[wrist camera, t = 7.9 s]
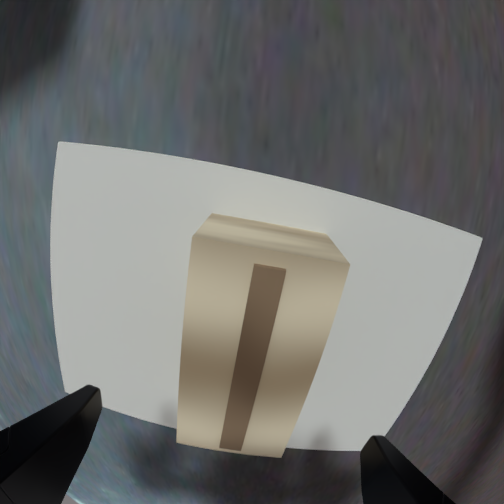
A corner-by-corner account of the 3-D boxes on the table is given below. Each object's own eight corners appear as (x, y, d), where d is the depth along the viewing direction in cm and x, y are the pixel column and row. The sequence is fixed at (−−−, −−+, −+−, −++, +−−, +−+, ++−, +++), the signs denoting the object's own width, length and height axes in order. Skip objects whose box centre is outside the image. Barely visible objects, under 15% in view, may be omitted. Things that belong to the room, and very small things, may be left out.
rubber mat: (478, 236, 14) (482, 238, 13) (372, 446, 18) (373, 450, 18) (62, 141, 13) (58, 141, 12) (67, 388, 18) (65, 391, 17)
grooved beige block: (278, 403, 16) (281, 460, 12) (190, 390, 16) (175, 445, 12) (326, 233, 14) (352, 266, 10) (211, 213, 13) (190, 238, 9)
